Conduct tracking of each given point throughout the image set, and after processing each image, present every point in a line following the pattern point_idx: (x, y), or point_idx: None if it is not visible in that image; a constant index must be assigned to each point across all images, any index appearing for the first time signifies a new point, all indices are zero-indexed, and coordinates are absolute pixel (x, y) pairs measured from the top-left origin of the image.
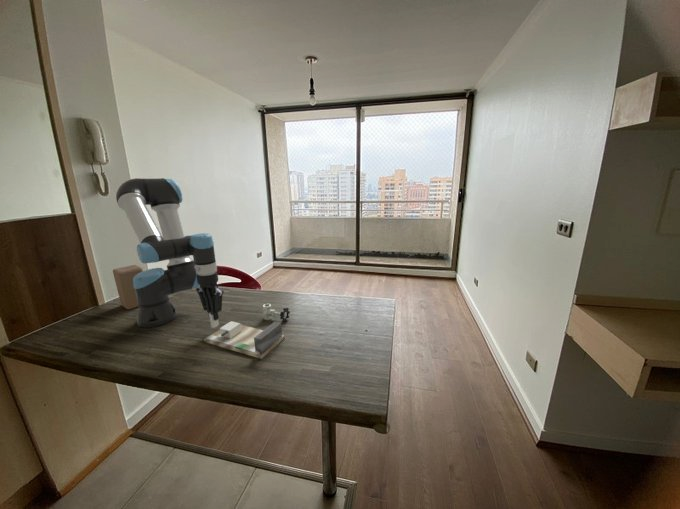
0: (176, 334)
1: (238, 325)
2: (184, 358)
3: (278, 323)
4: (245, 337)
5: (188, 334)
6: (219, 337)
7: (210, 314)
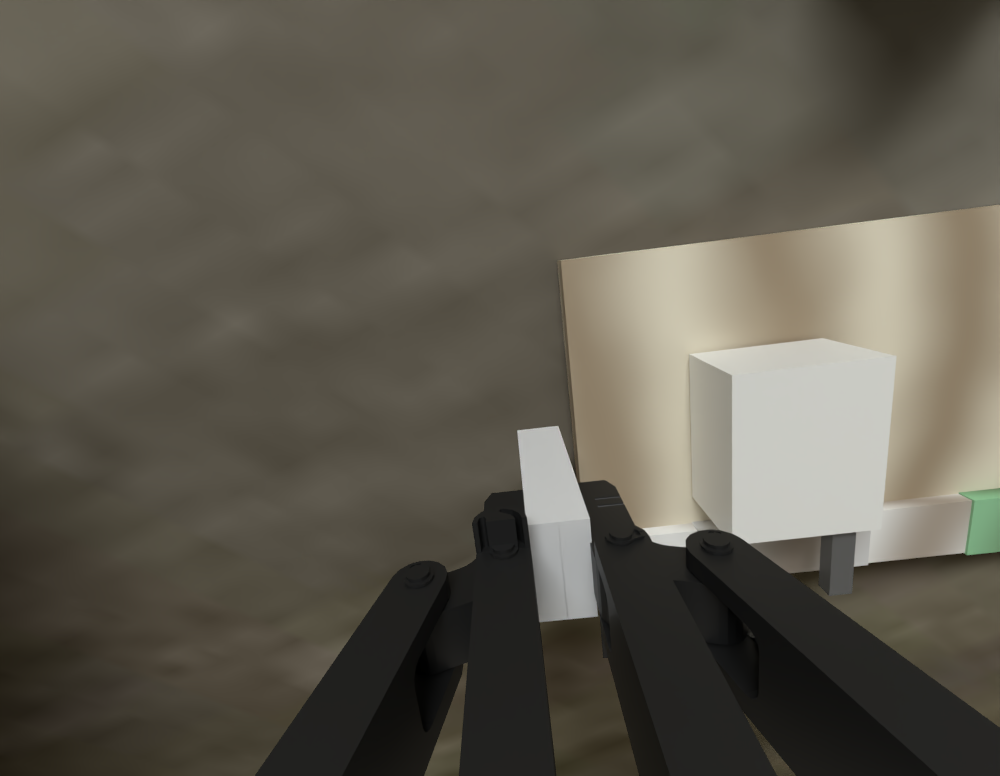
0: (254, 616)
1: (884, 388)
2: None
3: None
4: (939, 395)
5: (344, 571)
6: None
7: (568, 609)
